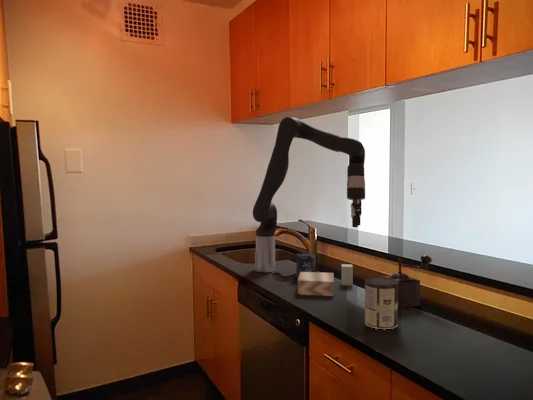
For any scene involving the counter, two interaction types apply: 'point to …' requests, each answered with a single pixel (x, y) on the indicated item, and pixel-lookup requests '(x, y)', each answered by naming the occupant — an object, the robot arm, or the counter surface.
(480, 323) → the counter surface
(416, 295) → the coffee grinder
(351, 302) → the counter surface
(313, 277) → the maple block
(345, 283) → the green block
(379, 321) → the coffee can
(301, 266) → the box
